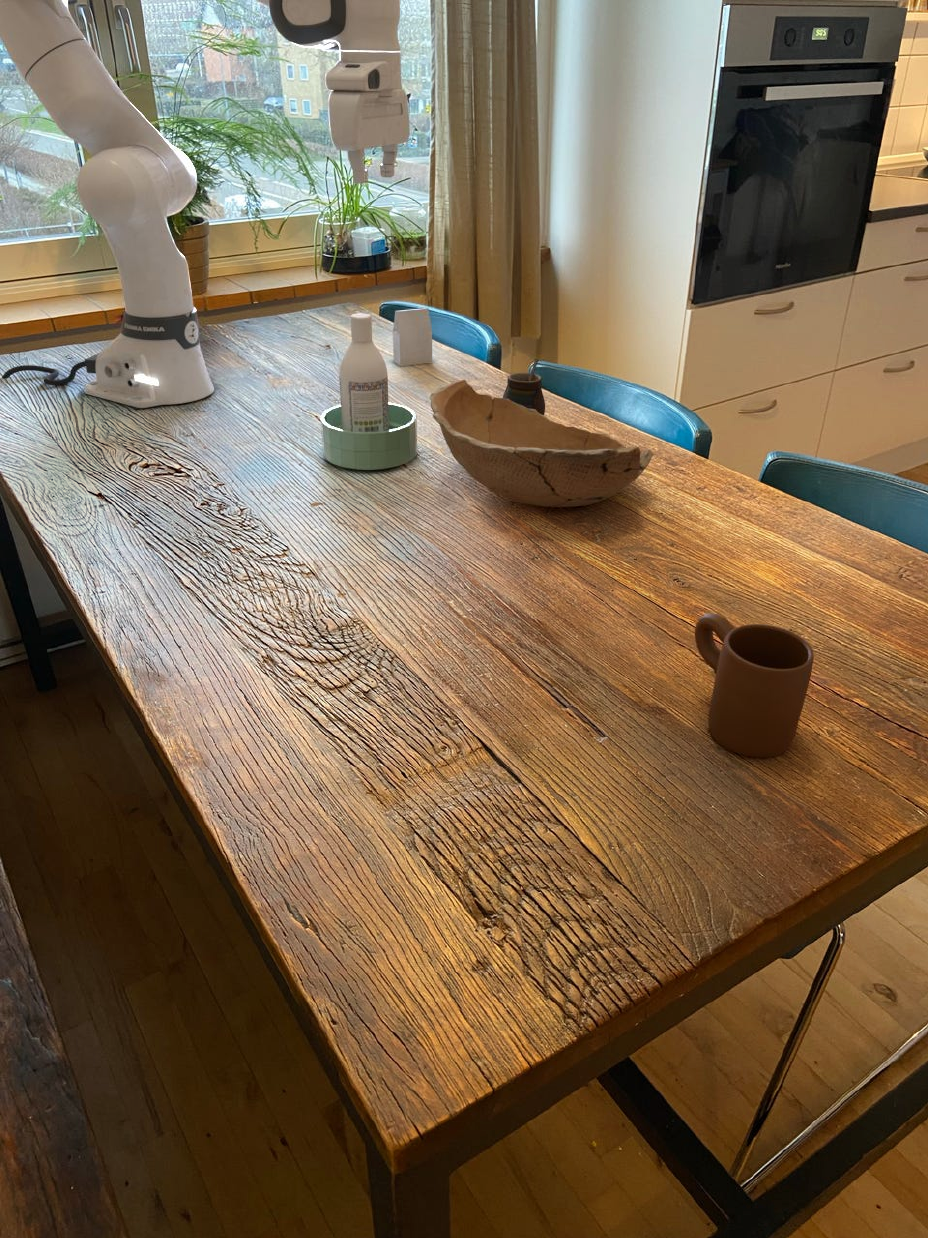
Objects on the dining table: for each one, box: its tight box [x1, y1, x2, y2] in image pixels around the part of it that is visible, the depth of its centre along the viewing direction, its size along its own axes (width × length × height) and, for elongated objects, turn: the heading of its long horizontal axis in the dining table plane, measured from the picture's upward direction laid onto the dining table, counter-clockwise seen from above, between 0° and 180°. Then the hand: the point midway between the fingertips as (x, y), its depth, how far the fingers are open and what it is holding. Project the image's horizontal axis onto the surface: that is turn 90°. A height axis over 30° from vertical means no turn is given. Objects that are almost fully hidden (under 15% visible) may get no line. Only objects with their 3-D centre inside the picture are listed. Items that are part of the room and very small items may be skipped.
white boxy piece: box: [392, 307, 433, 367], centre depth 178 cm, size 4×7×10 cm, turn 115°
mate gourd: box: [502, 358, 546, 416], centre depth 148 cm, size 7×8×10 cm
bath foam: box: [338, 312, 389, 432], centre depth 133 cm, size 7×7×20 cm
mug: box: [694, 612, 815, 759], centre depth 81 cm, size 12×8×9 cm, turn 30°
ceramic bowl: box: [429, 379, 655, 508], centre depth 124 cm, size 30×27×15 cm
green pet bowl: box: [319, 402, 418, 471], centre depth 136 cm, size 14×14×6 cm
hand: (374, 179), depth 140 cm, fingers open, 8 cm apart
